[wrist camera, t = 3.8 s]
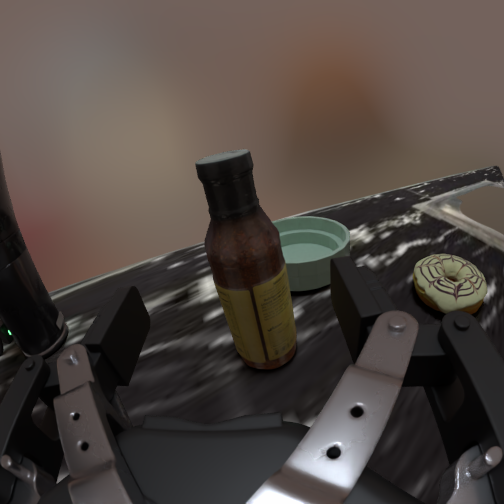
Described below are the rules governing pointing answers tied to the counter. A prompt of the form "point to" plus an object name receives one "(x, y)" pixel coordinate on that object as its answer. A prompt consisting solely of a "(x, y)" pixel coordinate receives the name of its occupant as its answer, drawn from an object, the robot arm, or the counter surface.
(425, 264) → the decorated donut
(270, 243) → the sauce bottle
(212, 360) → the counter surface
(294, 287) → the bowl
